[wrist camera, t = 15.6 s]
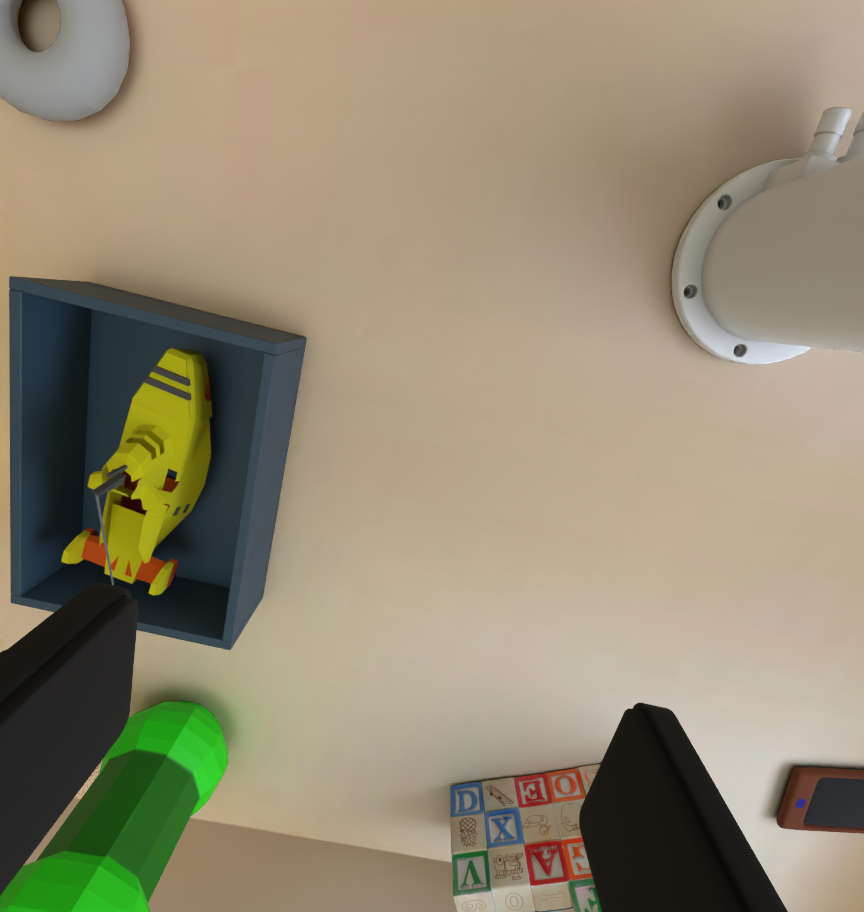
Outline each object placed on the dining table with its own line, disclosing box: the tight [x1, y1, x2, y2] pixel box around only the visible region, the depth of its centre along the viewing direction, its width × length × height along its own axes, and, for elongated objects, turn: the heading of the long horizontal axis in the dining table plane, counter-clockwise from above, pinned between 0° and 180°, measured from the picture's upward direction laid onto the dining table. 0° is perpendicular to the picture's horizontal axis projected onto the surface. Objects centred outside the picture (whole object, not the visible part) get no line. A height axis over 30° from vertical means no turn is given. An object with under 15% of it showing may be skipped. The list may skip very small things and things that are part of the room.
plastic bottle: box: [0, 701, 228, 912], centre depth 33 cm, size 10×10×25 cm
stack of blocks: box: [450, 764, 602, 912], centre depth 41 cm, size 21×6×12 cm, turn 101°
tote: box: [9, 276, 306, 650], centre depth 34 cm, size 22×15×7 cm
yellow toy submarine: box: [61, 348, 212, 596], centre depth 32 cm, size 6×18×10 cm, turn 156°
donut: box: [0, 0, 131, 121], centre depth 28 cm, size 10×4×10 cm
